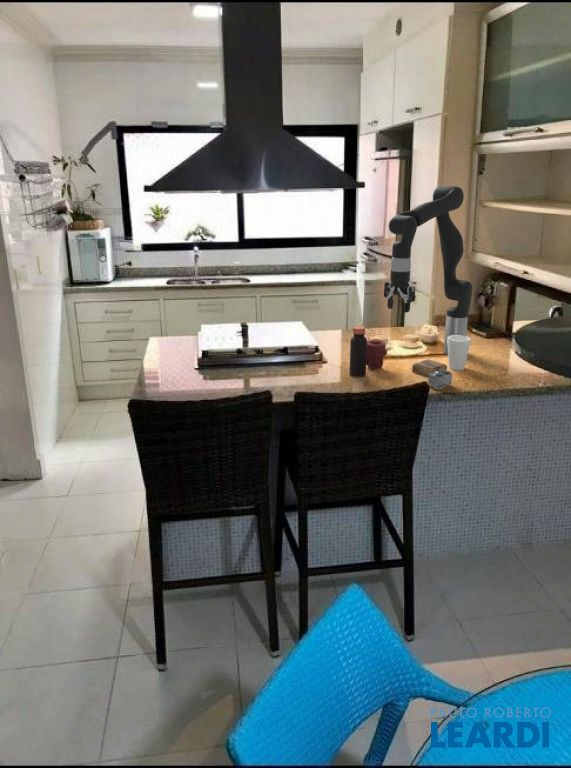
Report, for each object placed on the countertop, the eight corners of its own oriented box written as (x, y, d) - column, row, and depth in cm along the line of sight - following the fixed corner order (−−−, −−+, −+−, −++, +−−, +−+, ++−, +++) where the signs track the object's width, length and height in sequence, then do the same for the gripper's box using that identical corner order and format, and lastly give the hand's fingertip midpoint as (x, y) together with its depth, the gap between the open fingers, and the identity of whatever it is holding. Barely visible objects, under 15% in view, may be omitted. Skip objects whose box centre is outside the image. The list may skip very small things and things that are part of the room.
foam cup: (440, 368, 254) (443, 338, 250) (451, 362, 261) (454, 334, 256) (461, 372, 248) (464, 342, 244) (472, 367, 255) (475, 338, 250)
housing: (440, 382, 239) (441, 367, 237) (451, 385, 235) (452, 371, 233) (427, 386, 234) (428, 372, 232) (438, 390, 230) (439, 375, 228)
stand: (427, 366, 256) (428, 358, 255) (446, 372, 249) (447, 364, 248) (412, 371, 251) (412, 363, 249) (431, 377, 243) (431, 369, 242)
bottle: (346, 373, 250) (347, 326, 243) (360, 371, 252) (362, 324, 245) (354, 378, 244) (355, 330, 237) (369, 375, 246) (370, 328, 239)
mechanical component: (386, 365, 259) (385, 372, 249) (363, 364, 261) (361, 371, 251) (388, 337, 254) (387, 344, 245) (364, 336, 256) (362, 343, 247)
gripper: (421, 270, 228) (418, 312, 234) (393, 265, 239) (391, 305, 244) (408, 272, 224) (405, 315, 230) (380, 268, 235) (378, 308, 240)
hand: (398, 310), depth 237 cm, fingers open, 8 cm apart
